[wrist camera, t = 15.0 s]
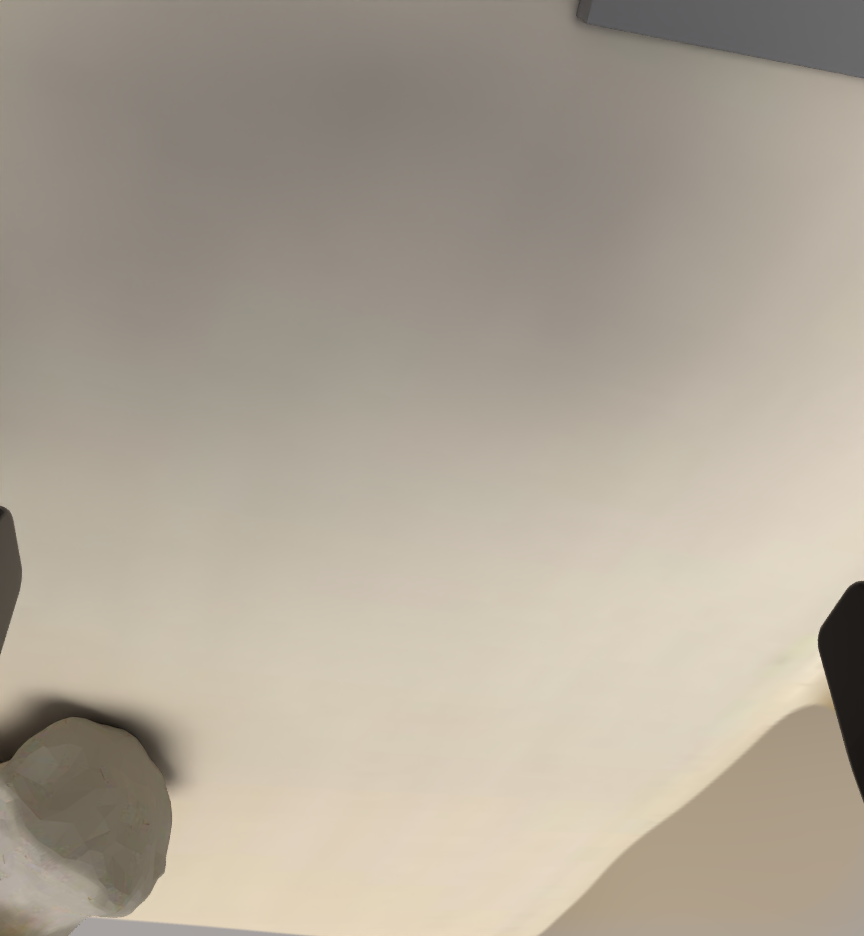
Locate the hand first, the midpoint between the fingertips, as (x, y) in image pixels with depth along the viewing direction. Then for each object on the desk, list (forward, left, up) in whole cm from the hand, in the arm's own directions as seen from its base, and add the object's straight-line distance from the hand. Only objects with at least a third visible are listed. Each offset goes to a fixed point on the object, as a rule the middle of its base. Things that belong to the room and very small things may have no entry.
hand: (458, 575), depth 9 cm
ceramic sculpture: (-11, -26, -13) cm, 31 cm away
